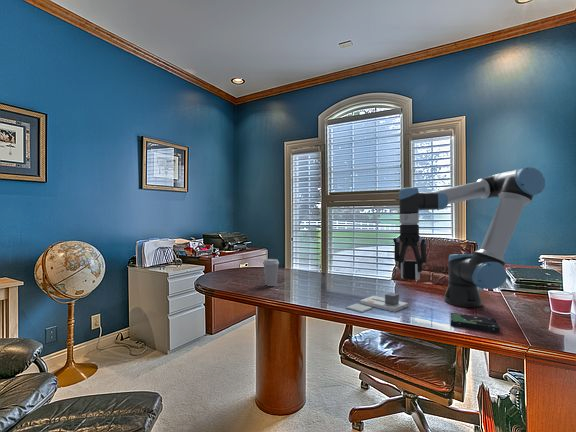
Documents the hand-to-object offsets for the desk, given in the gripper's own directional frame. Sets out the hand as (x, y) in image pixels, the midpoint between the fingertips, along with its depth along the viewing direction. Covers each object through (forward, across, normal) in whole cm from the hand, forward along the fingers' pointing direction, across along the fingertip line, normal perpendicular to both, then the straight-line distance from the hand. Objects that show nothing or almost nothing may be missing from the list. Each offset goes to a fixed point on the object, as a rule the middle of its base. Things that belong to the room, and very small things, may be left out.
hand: (410, 278), depth 125 cm
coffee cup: (+13, -77, -12) cm, 79 cm away
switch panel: (+14, -13, +1) cm, 19 cm away
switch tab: (+12, -9, +1) cm, 15 cm away
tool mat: (+14, -18, -12) cm, 25 cm away
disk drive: (+15, +23, +1) cm, 27 cm away
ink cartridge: (+1, 0, 0) cm, 1 cm away
